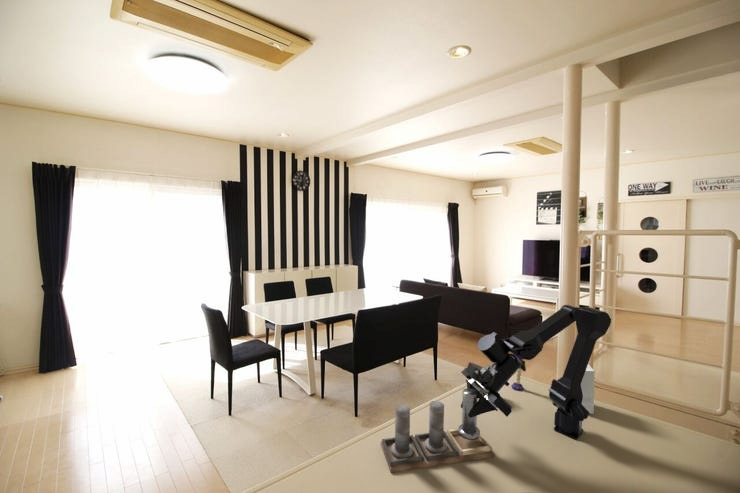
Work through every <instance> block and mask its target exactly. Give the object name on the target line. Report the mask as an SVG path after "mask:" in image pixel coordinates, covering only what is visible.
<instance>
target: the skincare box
mask: <svg viewBox="0 0 740 493" xmlns="http://www.w3.org/2000/svg"><path fill="white" fill-rule="evenodd" d="M595 372H596V371H595V370H594V369H593V367H591V366H590V364H589V363H588V365H587V368H586V371H585V374H584V377H583V379H582V382H581V389H582V393H583V399H582V405H583V406H584V407H585V408H586V409H587V410H588V411H589V415H594V412H595V411H594V410H595V374H596V373H595Z"/></svg>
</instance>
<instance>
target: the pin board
mask: <svg viewBox="0 0 740 493" xmlns="http://www.w3.org/2000/svg"><path fill="white" fill-rule="evenodd" d="M394 408H395V411H394V412H395V414H394V415H395V417H394V422H395V423H394V437H388V438H382V439H381V440H380V446H381V447H380V448H381V449H382V452H383V455H384V458H385V461H386V464H387V466H388V469H389V472H390V473H399V472H404V471H411V470H416V469H417V470H418V469H422V468H423V469H424V468H429V467H435V466H443V465H449V464H456V463H461V462H467V461H468V462H469V461H474V460H480V459H487V458H492V457H493V458H494V457H495V456H494V455H495V453H494V451H493V450H492V449H493V448H492V445H490V443H489V442H488V441H487V439H486V438H485V437H484V436H483V435H482V433H480V437H479V438H478V439H476V440H467V439H465V438H463V437H461V436H460V435H459V433H458V428H455V429H447V430H446V431H445V428H444V426H445V425H444V423H445V404H444V403H443V402H442V401H438V400H434V401H430V402H429V411H428V413H429V415H428V416H429V419H428V423H429V424H428V432H425V433H418V434H415V435H414V436H413V434H410V433H411V432H410V431H411V430H410V429H411V427H410V426H411V408H410V406H408V405H406V404H399V405H396V406H395V407H394Z"/></svg>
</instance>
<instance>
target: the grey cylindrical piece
mask: <svg viewBox="0 0 740 493" xmlns="http://www.w3.org/2000/svg"><path fill="white" fill-rule="evenodd" d="M462 401H463V407H462V408H461V410H462V412H461V414H462V415H461V416H462V417H461V424H460V425H458V428H457V429H458V433H459V435H460V436H461V437H463V438H465V439H467V440H476V439H478V438H479V437H480V434H481V430H480V428H478V425H477V423H478V422H477V421H478V415H477V416H475V417H472V418H470V417H469V416H468V414H469V412H470V411H471V409H472V408H473V407H474V405H475V404H476V403H477V402H478V399H477V391H476V390H474V389H470V388H464V389H463V390H462Z"/></svg>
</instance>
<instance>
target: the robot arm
mask: <svg viewBox="0 0 740 493" xmlns="http://www.w3.org/2000/svg"><path fill="white" fill-rule="evenodd" d="M573 323H575V326H576V329H577V330H576V331H577V334H576V338H575V341H574V343H573V346H572V349H571V352H570V355H569V357H568V360H567V363H566V366H565V369H564V371H563V374H562V376H561V377H560V378H558V379H555V378H554V379H553V380H552V381H551V384H550V385H551V386H550V387H549V388H548V392H549V393H548V397H549V399H550V401H551V402H552V405H553V406H555V407H556V411H555V412H554V420H553V421H554V422H553V423H554V424H553V425H554V427H553V430H554V432H555V431H556V432H558V433H560V434H562V435H564V436H568V437H569V438H571V439H574V440H579V438H580V436H581V435H582V434H583V432H584V429H583V422H584V420H587V419H588V417H589V415H590V414H589V411H588V410H587V409H586V408H585V407H584V406H583V405H582V399H583V393H582V389H581V382H582V379H583V377H584V374H585V371H586V368H587V365H588V364H589V363H590V360H591V357H592V354H593V351H594V348H595V346H596V343H597V341H598V340H599V339H601V338H602V337H604V336H605V335H606V334H607V332H608V330H609V327H610V326H611V324H612V318H611V317H610V315H609V313H608V312H606V311H604V310H600V309H596V308H594V307H591V306H583V307H577V306H573V305H571V304H564V305H562V306H561V307H560V309H559V310H557V311H555V312H554V313H552V314H551V315H550V316H549V317H547V318H546V319H544V320H543V321H541V322H540V323H539V324H537V325H535V327H533V328H531V329H526V330H521V331H519V332H517V333H515V334H513V335H511V336H510V337H507V338H502V337H501V336H500V335H499V334H498V333H497V332H495V331H492V333H490V334H486V335H484V336H482V337H480V338H479V340H478V342H477V348H478V350H479V351H480V352H481V353H482V354H483V355H484V357H486V358H487V359H488V361H490V362H492V364H491V365H490V364H486V365H485V366H484V367H483V366H481V365H478V364H476V363H475V362H471V361H469V362H468V365H467V367H465V368H464V369H463V370H462V371H461V374H462V375H463V376H464V377H465V382H466V387H467V388H470V389H474V390H476V391H477V403H476V404H475V405H474V407H473V408H472V409H471V411H470V412H469V414H468V416H469V417H470V418H472V417H475V416H477V417H478V416H480V415H483V414H486V413H490V412H493V411H496V412H498V411H499V410H500V412H501V413H502V414H504V416H505V417H509V415H510V414H511V413H512V409H513V408H512V406H511V405H510V403H508V402H507V401H506V400H505V399H504V398H503V397H502V396H501V394H500V393H499V392H500V391H501V389H502V388H503V387H504V386H506V387H509V386H510V383H509V382H508V381H509V380H510V379H511V378H512V376H514V374H516V372H517V370H518V369H519V368H520V369H521V371H523V372H526V371H527V368H526V367H527V366H526V361H531V360H534V359H535V358H536V356H538V355H539V354H540V353H541V352H542V350H543V348H544V345H545V344H546V343H547V342H548V341H550V340H551V339H553V337H555V336H556V335H558V334H559V333H561V332H562V331H564V330H565V329H567V327H569V326H571V325H572V324H573ZM514 354H515V355H516V356H519V357H522V358H523V360H522V359H518V358H517V357H516V356H515V355H514ZM483 386H485V387H483ZM480 389H481V390H482V391H483V392H484V393H485V394H486V395H485V396H483V395H482V394H481V393H480V392H479V391H480ZM487 390H489V392H488V391H487ZM487 392H488V393H487ZM462 407H463V400H462V402H461V404H460V408H461V409H462Z"/></svg>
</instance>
